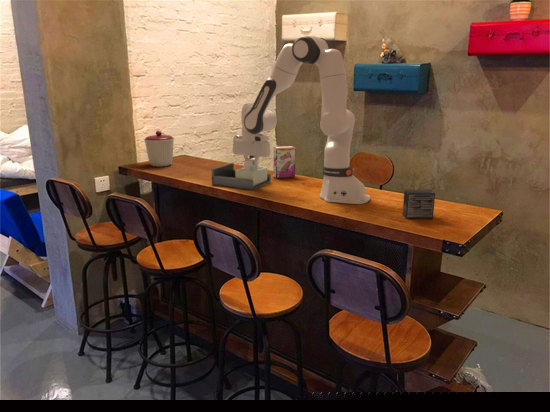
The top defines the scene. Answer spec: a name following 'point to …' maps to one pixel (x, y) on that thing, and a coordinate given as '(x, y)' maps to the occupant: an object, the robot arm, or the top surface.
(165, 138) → the canister
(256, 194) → the top surface
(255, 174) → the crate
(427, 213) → the small box
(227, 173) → the bay
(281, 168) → the candy bar box
